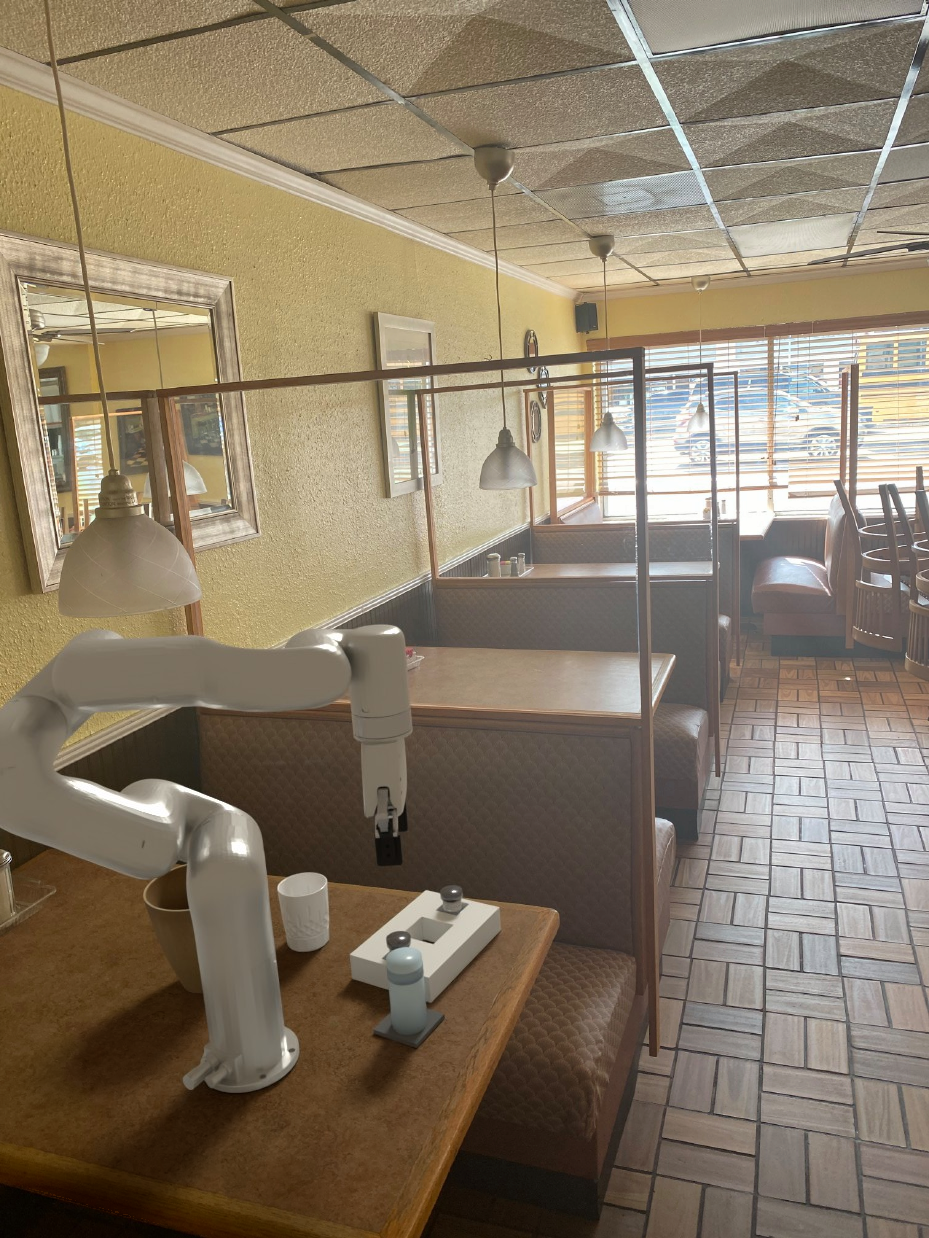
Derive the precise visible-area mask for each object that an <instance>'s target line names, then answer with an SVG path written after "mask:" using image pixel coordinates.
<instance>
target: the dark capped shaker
mask: <svg viewBox="0 0 929 1238" xmlns="http://www.w3.org/2000/svg"><path fill="white" fill-rule="evenodd" d="M463 891H464V890H463V888H462V887H461V886H459V885H455V884H452V885H451V884H450V885H446V886H444V887H442V888H441V889H440V890H439V893H440V897H441V900H443V912H444V913H448V914H452V915H456V916H457V915H458V914H459V913H460V912H461V911H462V903H461V898H462V899H463V897H464V894H463Z"/></svg>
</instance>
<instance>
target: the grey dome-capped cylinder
mask: <svg viewBox="0 0 929 1238" xmlns="http://www.w3.org/2000/svg"><path fill="white" fill-rule="evenodd" d="M386 943H387V947H388V948H389V953H390V952H391V951H393V950H395V949H398V948H402V947H409V946H410V945H411V936H410V934H409V933H408V932H405V931H395V932H392V933H390V934H389V935H388V936H387V937H386Z"/></svg>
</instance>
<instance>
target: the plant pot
mask: <svg viewBox="0 0 929 1238" xmlns="http://www.w3.org/2000/svg"><path fill="white" fill-rule="evenodd" d="M186 876H187V863H185V864H182V865H178V866H176V867H173V868H172V869H171V870H170V871H169V872H168V873H167V874H165V875H163V876H161V877H159V878H155V879H151V881H150V882H149V883H148V884H147V885H146V887H145V888H144V890H143V894H142V897H143V901H144V906H145V907H146V908H145V909H146V910H147V913H148V914H147V915H148V917H149V920H150V923H151V926H152V928H153V931H154V933H155V935H156V938H157V940H158V943H159V945H160V947H161V950H162V951H163V955H164V957H165V958H166V959H167V962H168V963H169V965H170V967H171V968H172V970H173V973H174V974H175V976H176V977H177V978H178V980H179V981H180V983H181V985H182V986H183V988H184V989H185V990H186V991H188V992H189V993H192V994H203V988H202V981H201V974H200V967H199V962H198V955H197V948H196V941H195V934H194V928H193V923H192V918H191V914H190V909H189V904H188V898H187V888H186Z"/></svg>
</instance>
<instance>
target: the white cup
mask: <svg viewBox="0 0 929 1238" xmlns="http://www.w3.org/2000/svg"><path fill="white" fill-rule="evenodd" d="M276 887H277V888H276V891H277V896H278V901H279V906H280V907H279V908H280V913H281V918H282V924H283V928H284V930H285V938H286V943H287V946H288V947H289V949H290V950H292V951H295V952H298V953H299V952H301V953H305V952H306V953H307V952H308V953H309V952H312V951H316V950H319V949H320V948H322V947H325V946H326V944H327V943H328V942H329V940H330V927H329V925H330V908H329V890H328V879H327V877H326V876H325V875H323V874H321V873H319V872H300V873H296V874H292V875H290V876H287V877H286V878H284V879H283V880H281V881H280V882H279V883H278V884H277V886H276Z"/></svg>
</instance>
